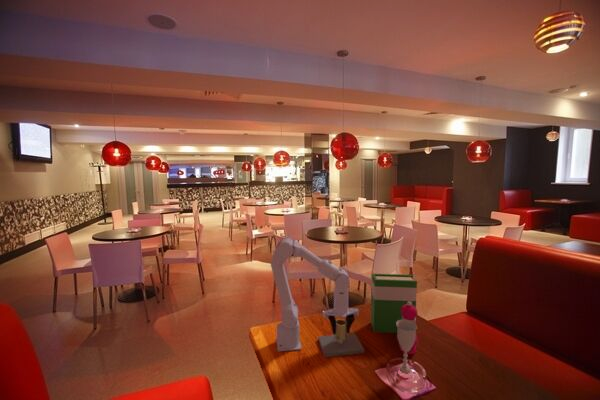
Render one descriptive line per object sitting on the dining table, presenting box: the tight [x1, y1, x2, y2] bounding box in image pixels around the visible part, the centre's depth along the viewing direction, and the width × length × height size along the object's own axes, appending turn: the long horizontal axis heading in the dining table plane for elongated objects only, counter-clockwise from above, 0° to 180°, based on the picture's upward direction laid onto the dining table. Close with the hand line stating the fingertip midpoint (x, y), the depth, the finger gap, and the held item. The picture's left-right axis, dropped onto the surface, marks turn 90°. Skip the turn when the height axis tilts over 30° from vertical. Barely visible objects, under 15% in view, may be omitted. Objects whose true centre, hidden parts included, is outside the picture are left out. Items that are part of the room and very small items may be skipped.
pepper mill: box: [398, 301, 419, 355], centre depth 109 cm, size 7×7×20 cm
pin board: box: [317, 332, 365, 358], centre depth 111 cm, size 16×11×6 cm
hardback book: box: [370, 273, 418, 334], centre depth 123 cm, size 18×7×24 cm, turn 85°
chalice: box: [396, 319, 418, 374], centre depth 96 cm, size 7×7×18 cm
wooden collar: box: [333, 318, 348, 340], centre depth 111 cm, size 5×5×6 cm
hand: (340, 332), depth 111 cm, fingers closed on wooden collar, 5 cm apart
